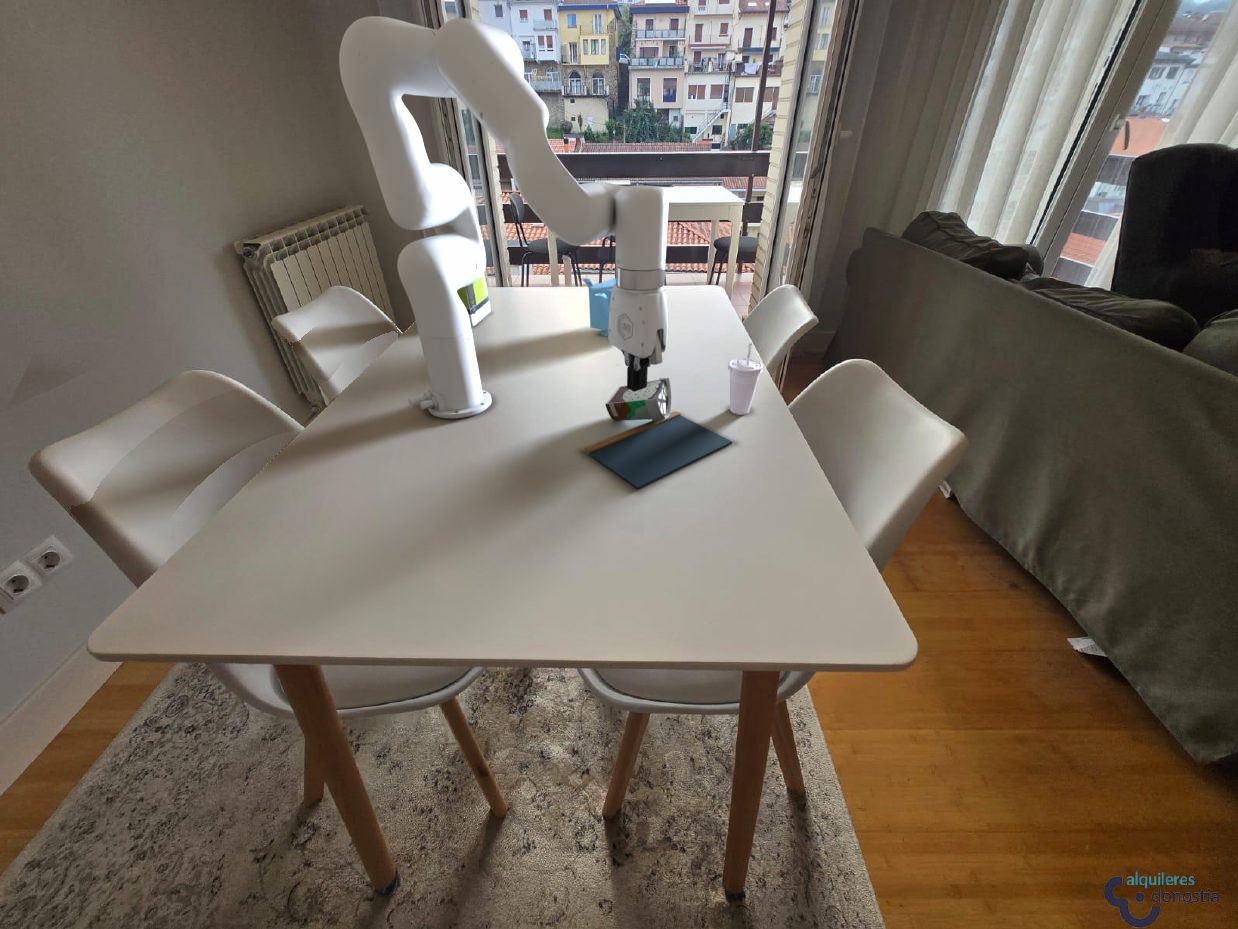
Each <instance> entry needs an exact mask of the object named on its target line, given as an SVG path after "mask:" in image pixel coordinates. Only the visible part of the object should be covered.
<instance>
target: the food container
mask: <svg viewBox="0 0 1238 929" xmlns="http://www.w3.org/2000/svg"><path fill="white" fill-rule="evenodd" d="M605 408H606V411H607V413H608V415H609V417H610V419H612V421H614V422H624V421H626V422H627V421H642V420H643V421H644V420H651V421H654V422H659V421H662V420H664V419H666V418H668V417H669V415H670V413H672V387H671V381H670V377H661V378H659V379H654V380H649V381H647V387H646V388H644V389H641V390H638V391H635V392H633V391H632V390H630V389H628V388H627V385H622V386H619V387H618V388H617V389H616V390H615V391H614V393H613V394H612V395H611V396H610V397H609V399H608V400H607V401H606V402H605Z"/></svg>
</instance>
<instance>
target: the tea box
mask: <svg viewBox="0 0 1238 929" xmlns="http://www.w3.org/2000/svg"><path fill="white" fill-rule="evenodd" d="M486 280H487V279H486V275H485V273H484V274H483V275H482V277H481V278H480V279H479V280H477V281H476V282H474V283H472V284H469V285H467V286H465V287H462V288H460V289H458V290H457V294H458V296H459V298H460V300H461V301H462V303H463V304H464V306H465V308H466V310H467V312H468V315H469V319H470V325H471V328H472V327H474V326H476V325H477V324H478V323H479V322H480V321H481V320H483V319H485V317H486V316H488V315H489V314H490V313H491V312H492V311H491V303H490V300H489V299H490V298H489V291H488V287H487V281H486Z"/></svg>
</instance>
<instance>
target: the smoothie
mask: <svg viewBox="0 0 1238 929" xmlns="http://www.w3.org/2000/svg"><path fill="white" fill-rule="evenodd" d="M752 347H753V342H748V348H747V355H746V358H743V357H742V358H733V359H731V360H730V361H729V362H728V366H727V370H728V371H729V411H730V412H731V413H732V414H735V415H738V416H739V415H740V416H741V415H743V416H744V415H747V414H749V413H750V410H751V406H752V403H753V398H754V396H755V392H756V389H757V385H758V381H759V379H760V374H762V372H763V367H764V365H763V363H762V362H760V361H758V360H756V359H753V358H751V354H752Z"/></svg>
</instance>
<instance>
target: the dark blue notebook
mask: <svg viewBox="0 0 1238 929" xmlns="http://www.w3.org/2000/svg"><path fill="white" fill-rule="evenodd" d="M732 444H733V441H732V440H730V439H728V438H726V437H724V436H722V435H720V434H718V433H717V432H714V431H712V430H710V429H709V428H706V426H705V427H704V426H703V425H700V424H699V423H697V422H695V421H693V420H691V419H689V418H687V417H685V416H683V415H682V414H681V412H679V411H677V410H675V411H671V412H670V415H669V417H668V418H666V419H664V420H662V421H659V422H654V421H653V420H650V421H647V422H646V423H643V424H640V425H638V426H635V427H633V428H630V429H628V430H625V431H623V432H620V433H618V434H616V435H613V436H610V437H607V438H606V439H603V440H601V441H598V442H596V443H593V444H591V445H588V446H585V447H584V448H583V452H584V453H585V454H586V455H588V456H589V457H591V458H592V459H593V460H595V461H596V462H597V463H599V464H600V465H602V466H604V467H605V468H606V469H608V470H609V471H610V472H612V473H614V475H616V476H618V477H619V478H620V479H622V480H624V481H625V482H626V483H628V484H629V485H630V486H632V487H633V488H635V489H636V490H639V489H640V490H641V489H642V488H644V487H646V486H647V485H649V484H652V483H655V482H656V481H658V480H660V479H662V478H664V477H666V476H668V475H670V474H672V473H675V472H676V471H679V470H681V469H682V468H684V467H685V468H686V467H687V466H689V465H691V464H692V463H695V462H697V461H700V460H701V459H703V458H705V457H706V456H709V455H712V454H713V453H715V452H717V451H720V450H721V449H724V448H726V447H727V446H729V445H732Z"/></svg>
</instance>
